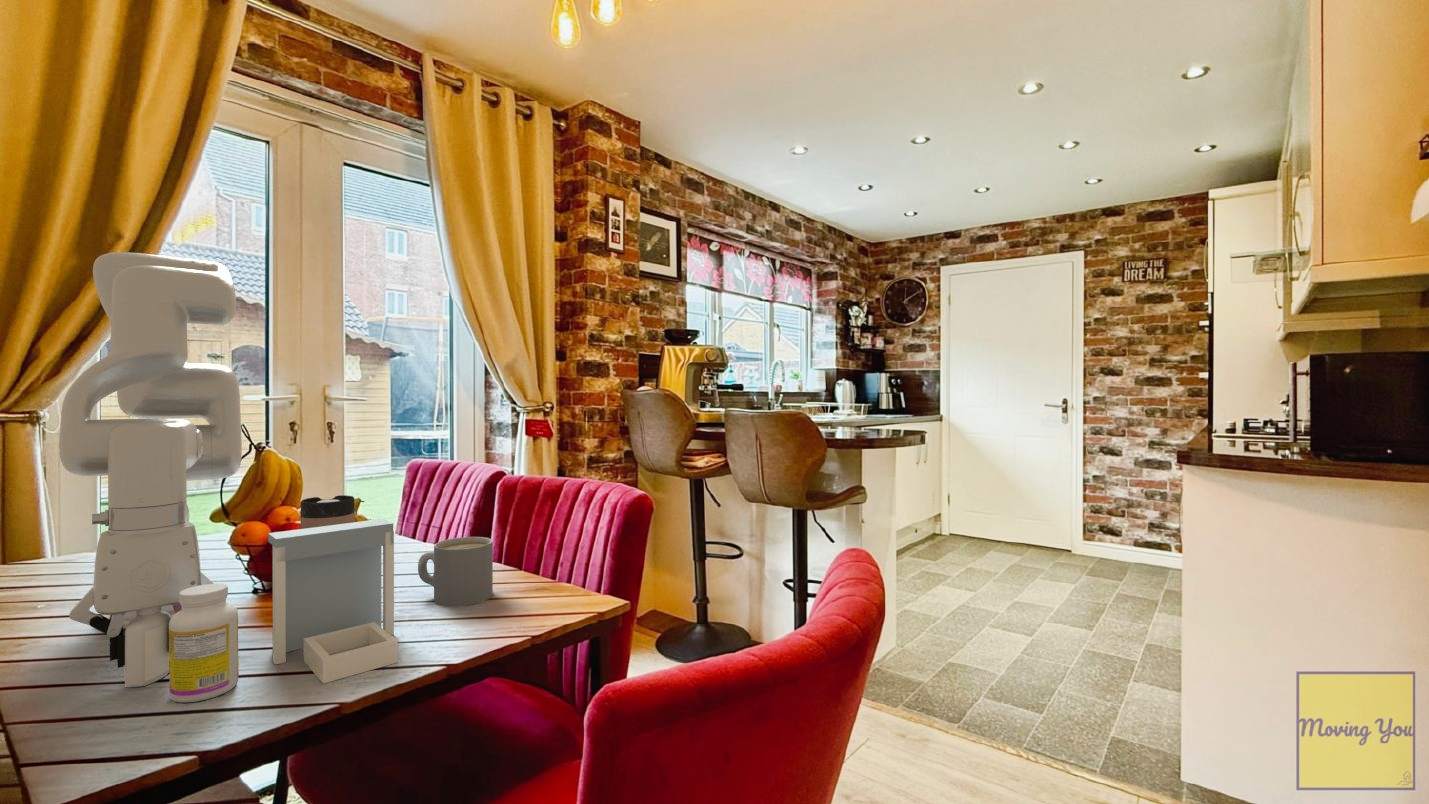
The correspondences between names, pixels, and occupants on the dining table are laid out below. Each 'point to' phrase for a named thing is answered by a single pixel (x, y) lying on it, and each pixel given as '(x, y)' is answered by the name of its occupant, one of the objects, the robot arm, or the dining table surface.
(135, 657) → the eye dropper bottle
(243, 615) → the dining table surface
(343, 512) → the travel mug
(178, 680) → the supplement bottle
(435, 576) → the coffee mug
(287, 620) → the roller blind
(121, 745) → the dining table surface
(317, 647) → the socket
